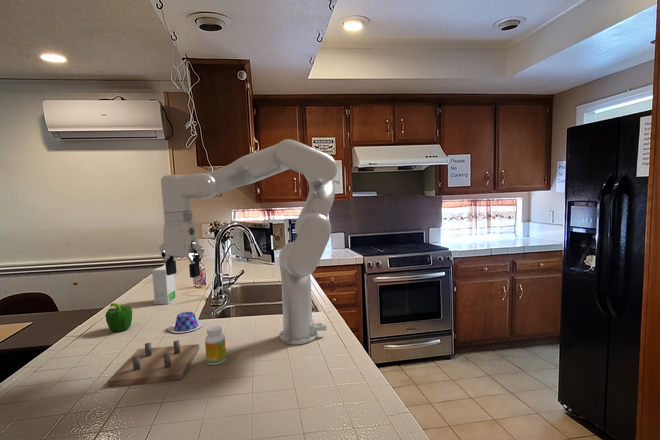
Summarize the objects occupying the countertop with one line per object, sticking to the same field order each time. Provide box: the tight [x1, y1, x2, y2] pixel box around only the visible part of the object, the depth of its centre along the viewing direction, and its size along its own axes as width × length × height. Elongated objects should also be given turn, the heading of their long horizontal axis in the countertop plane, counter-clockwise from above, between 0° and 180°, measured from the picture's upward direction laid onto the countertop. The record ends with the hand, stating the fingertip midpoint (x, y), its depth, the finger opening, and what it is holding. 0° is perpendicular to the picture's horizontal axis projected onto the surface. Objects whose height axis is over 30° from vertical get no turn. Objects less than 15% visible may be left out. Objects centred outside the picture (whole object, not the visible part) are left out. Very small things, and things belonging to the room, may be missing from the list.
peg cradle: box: [107, 340, 200, 387], centre depth 98 cm, size 18×18×5 cm
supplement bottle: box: [204, 325, 227, 366], centre depth 99 cm, size 5×5×10 cm
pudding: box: [167, 311, 205, 334], centre depth 126 cm, size 12×12×5 cm
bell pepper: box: [105, 302, 133, 332], centre depth 125 cm, size 8×8×10 cm
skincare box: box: [151, 266, 177, 305], centre depth 157 cm, size 8×7×16 cm
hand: (183, 275), depth 102 cm, fingers open, 9 cm apart
